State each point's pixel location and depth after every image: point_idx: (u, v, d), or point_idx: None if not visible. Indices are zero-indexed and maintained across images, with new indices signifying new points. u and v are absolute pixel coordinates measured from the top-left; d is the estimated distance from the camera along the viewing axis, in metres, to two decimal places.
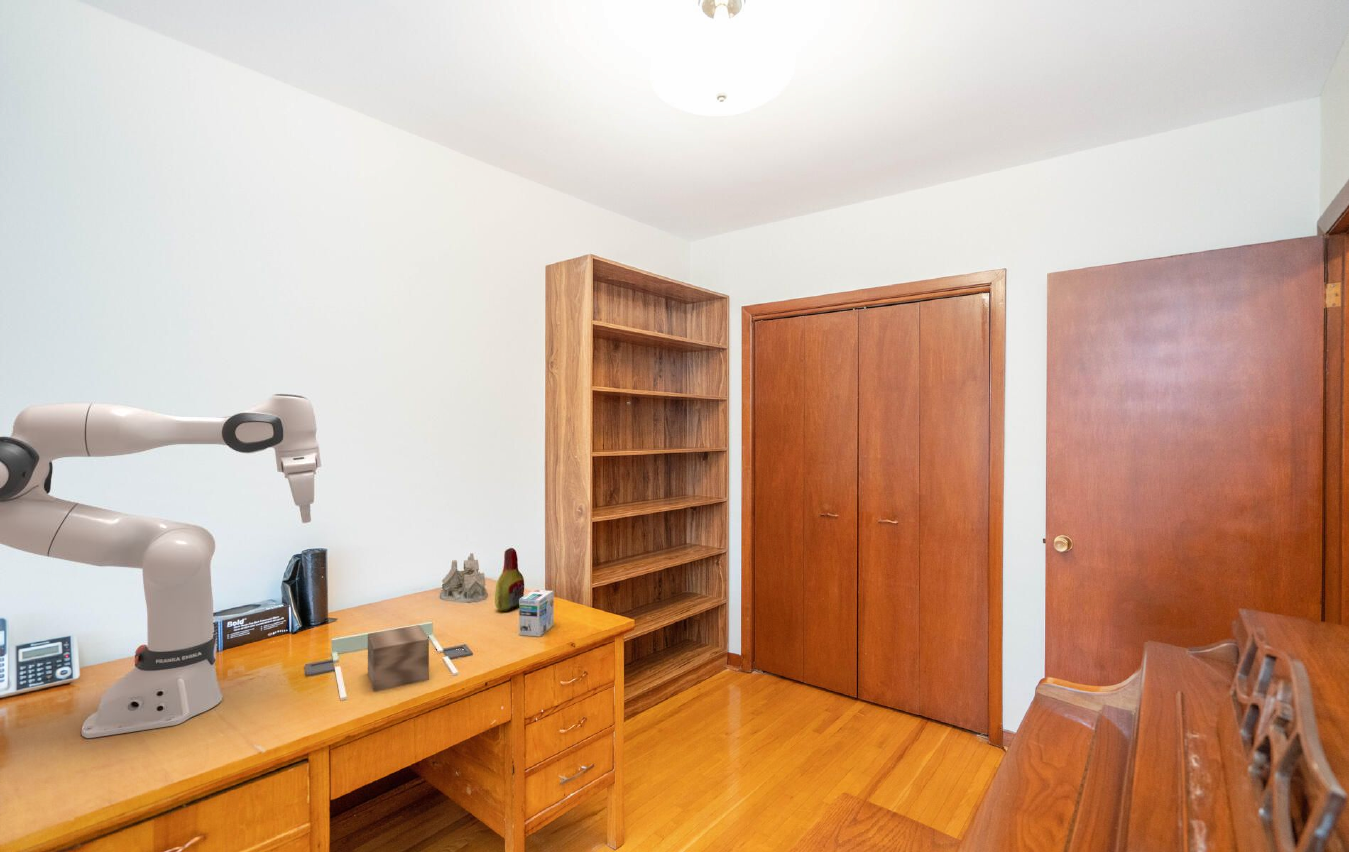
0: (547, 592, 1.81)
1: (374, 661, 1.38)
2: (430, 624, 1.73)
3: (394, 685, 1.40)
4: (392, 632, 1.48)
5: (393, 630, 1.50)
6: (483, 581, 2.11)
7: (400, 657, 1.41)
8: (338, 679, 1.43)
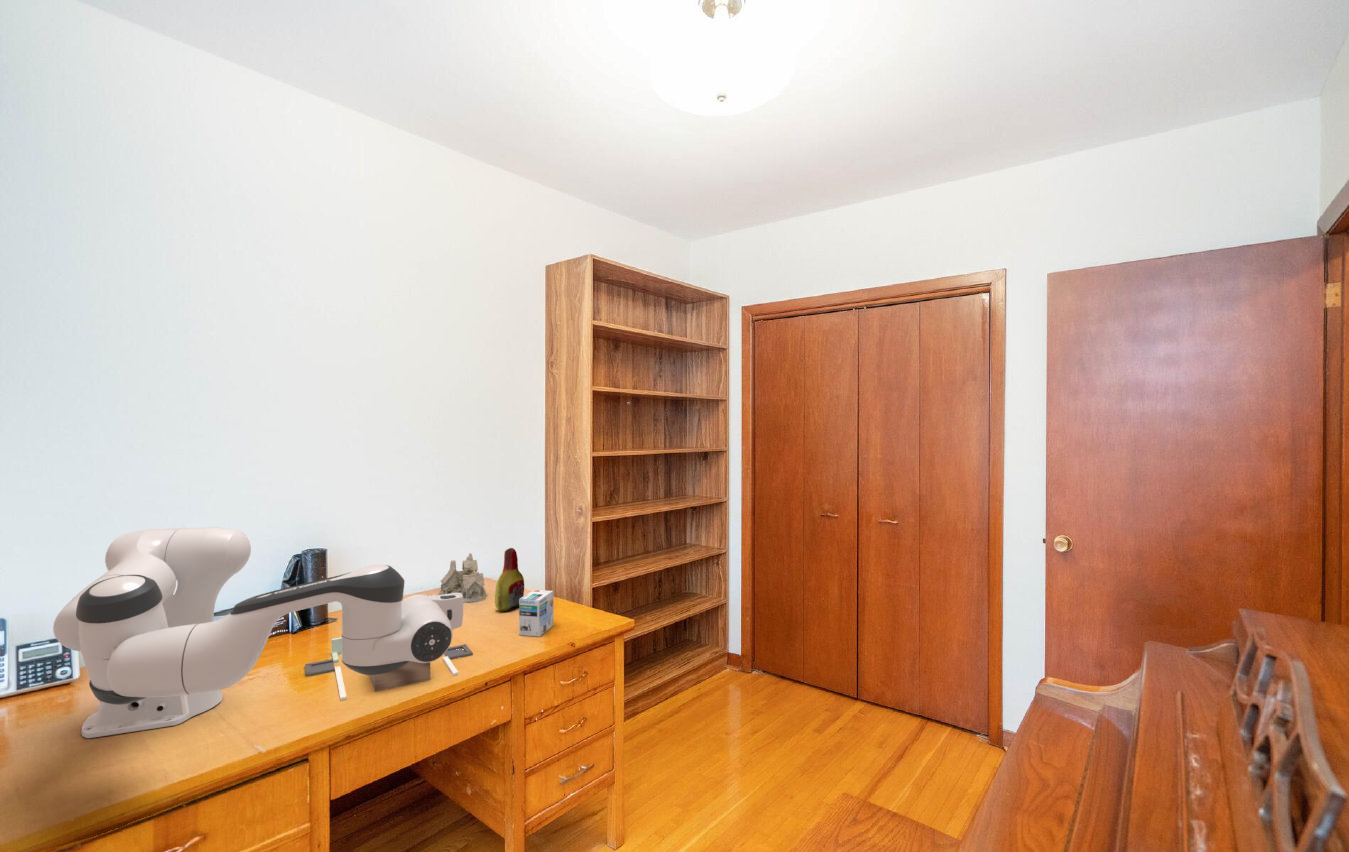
0: (547, 592, 1.81)
1: None
2: None
3: (395, 685, 1.40)
4: None
5: None
6: (482, 581, 2.11)
7: None
8: (338, 679, 1.43)
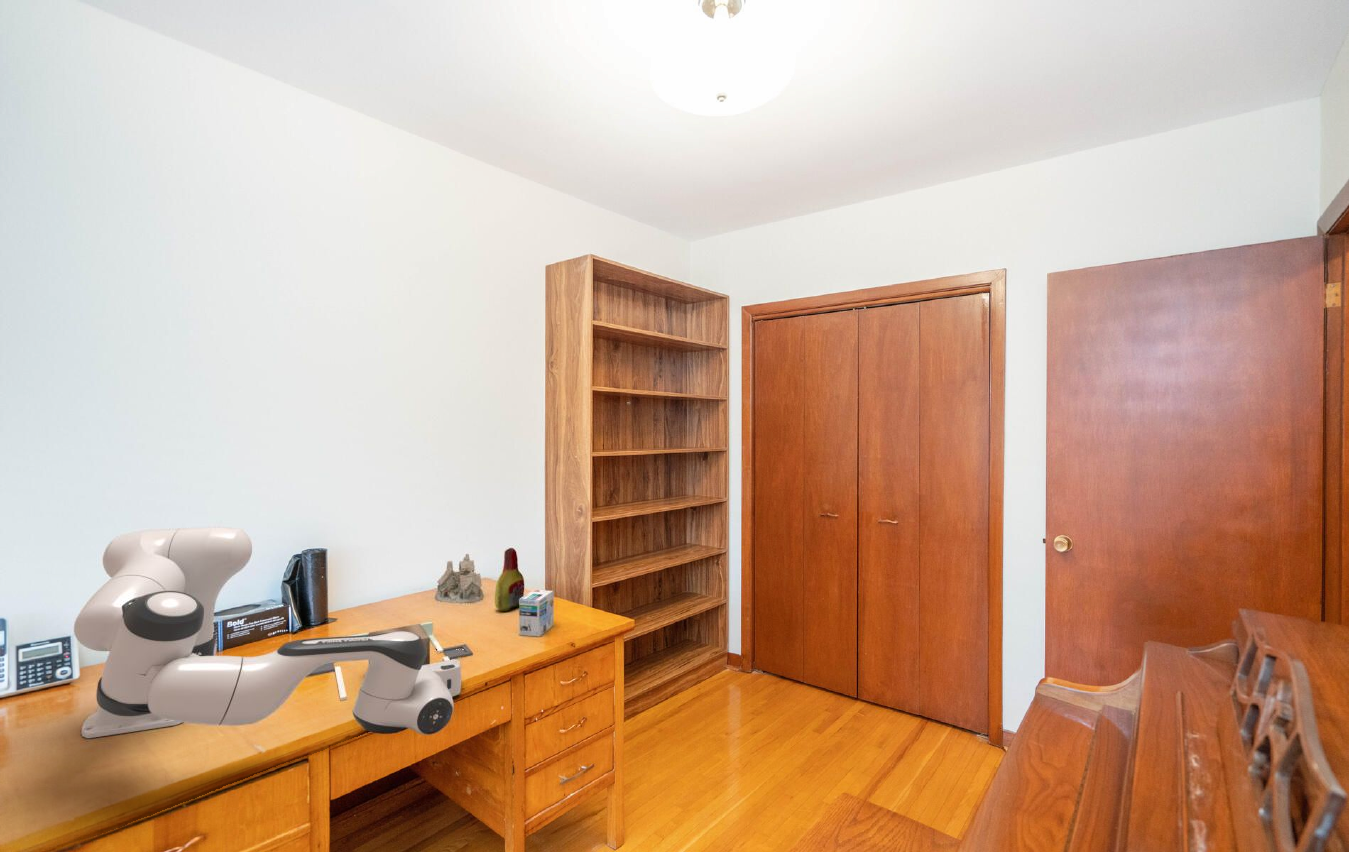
0: (547, 592, 1.81)
1: None
2: (430, 624, 1.73)
3: None
4: (393, 631, 1.49)
5: (393, 629, 1.50)
6: (479, 582, 2.10)
7: None
8: (338, 679, 1.43)
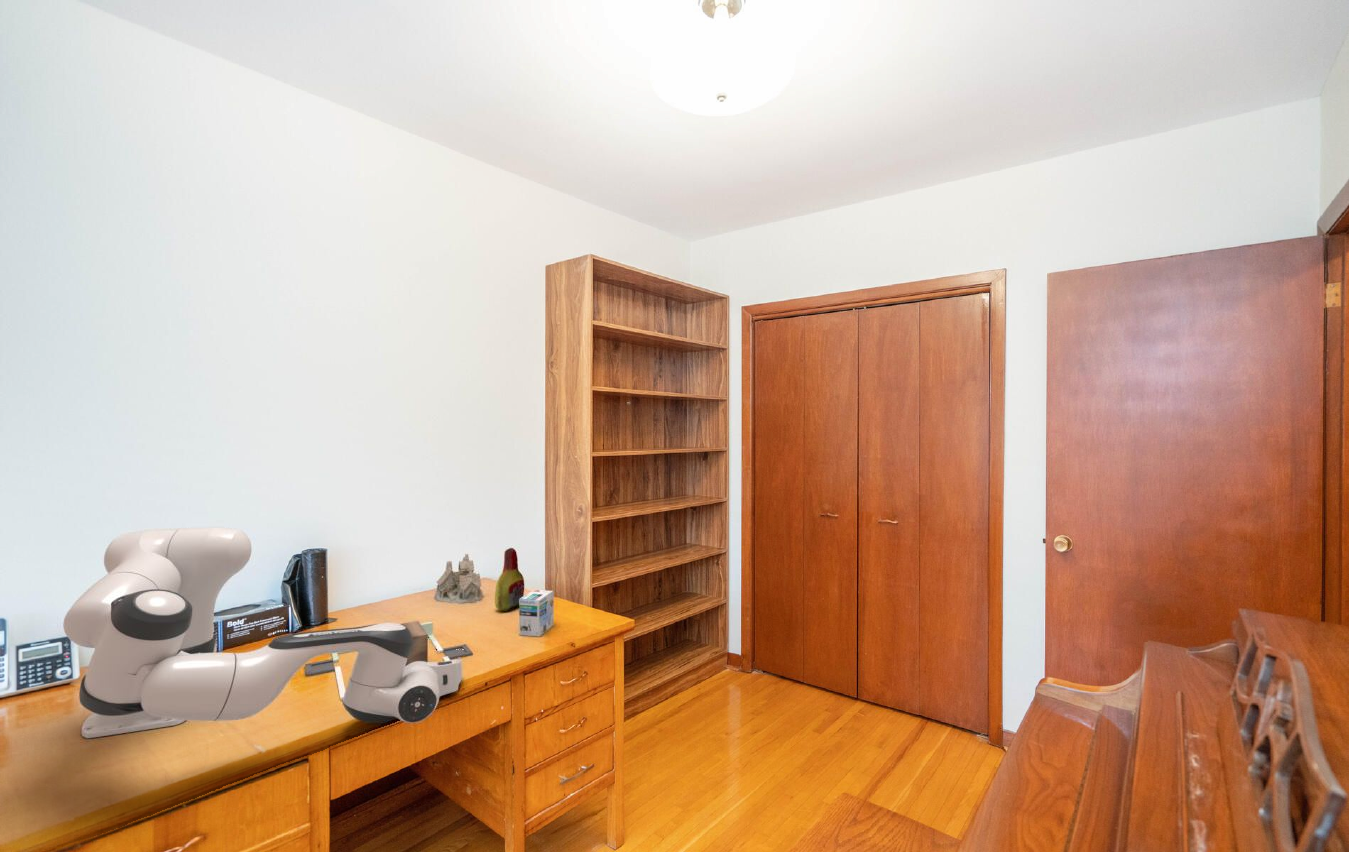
0: (547, 592, 1.81)
1: None
2: (430, 624, 1.73)
3: None
4: None
5: None
6: (479, 582, 2.10)
7: None
8: (338, 679, 1.43)
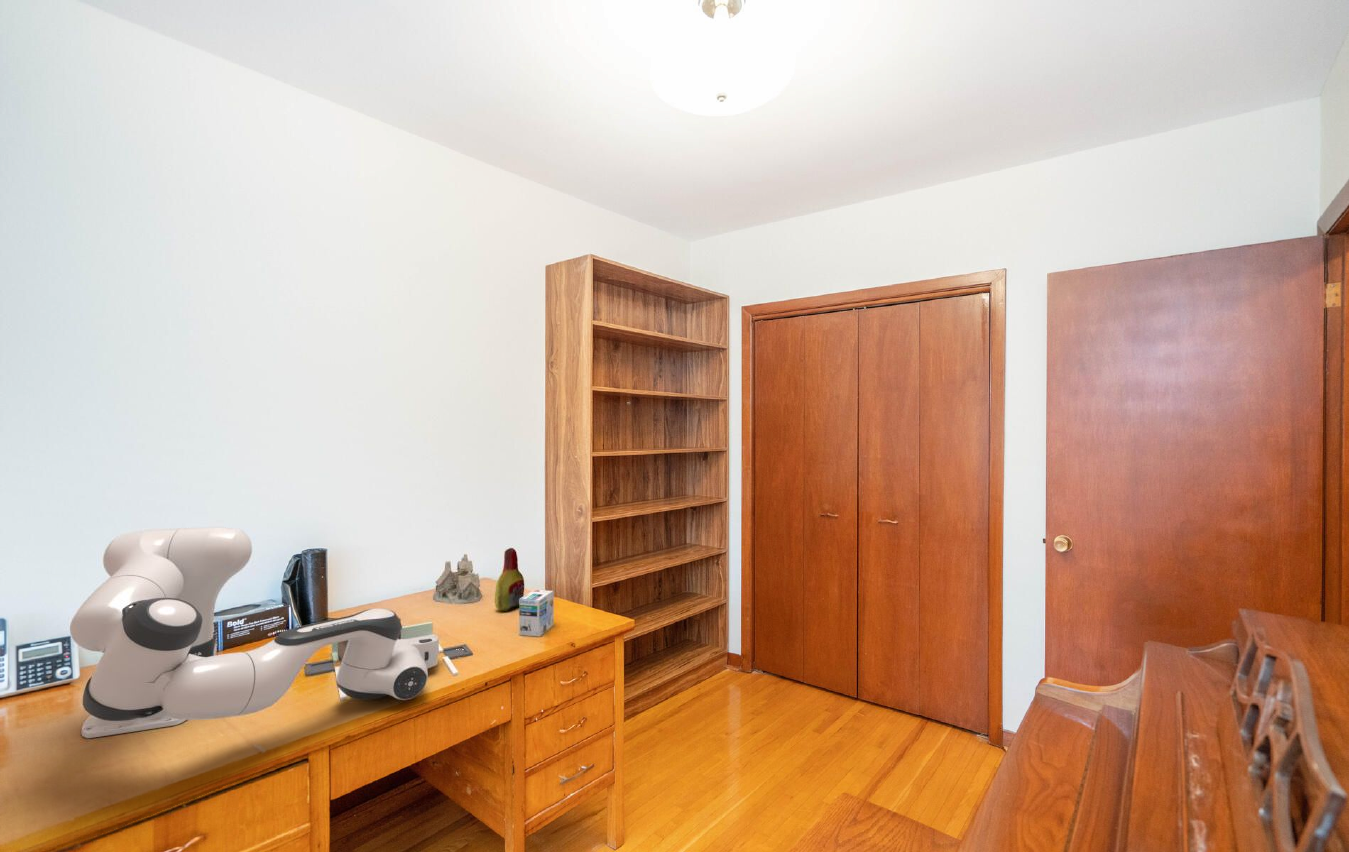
0: (547, 592, 1.81)
1: None
2: (430, 624, 1.73)
3: None
4: None
5: None
6: (478, 582, 2.10)
7: None
8: None
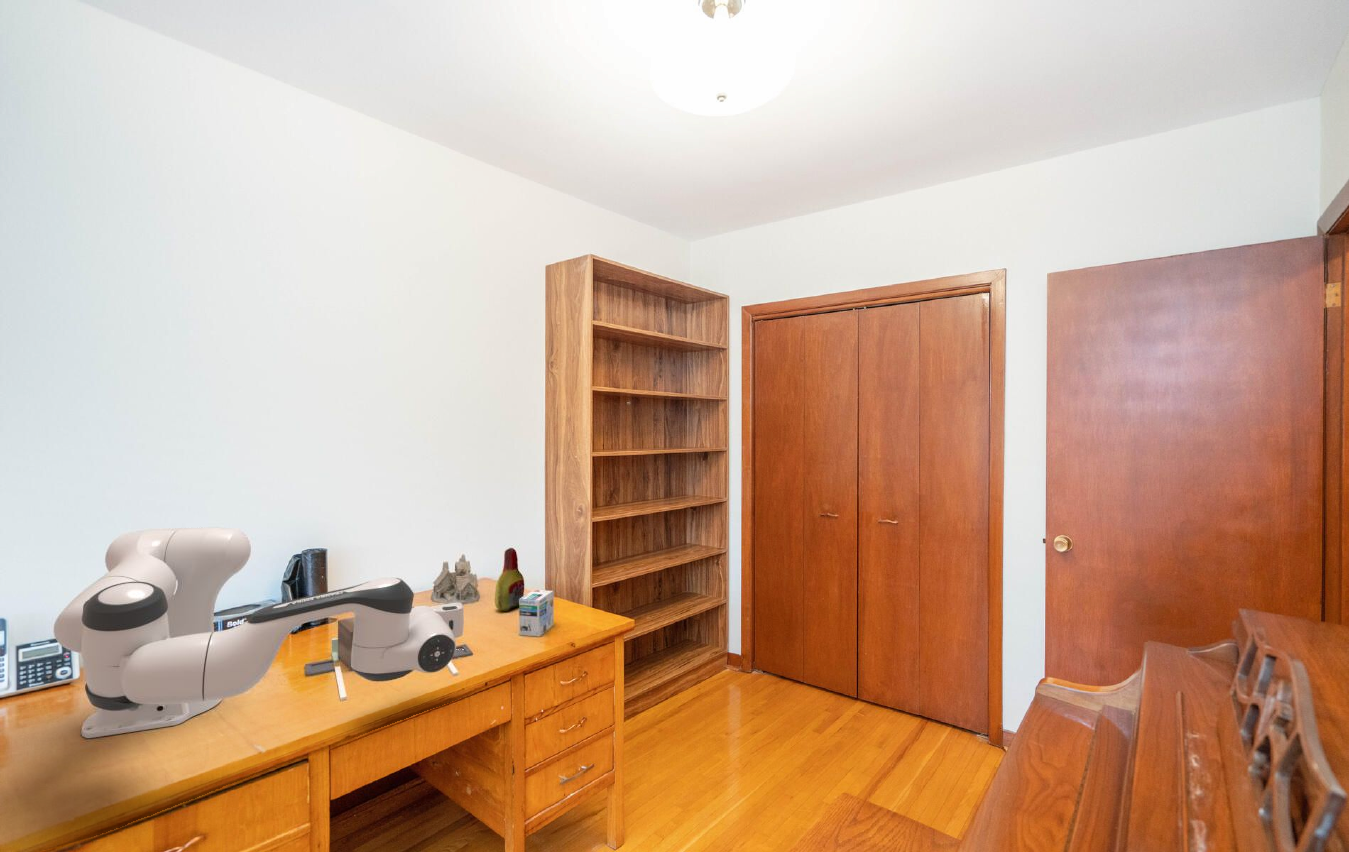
0: (547, 592, 1.81)
1: (351, 643, 1.49)
2: None
3: None
4: None
5: None
6: (476, 582, 2.10)
7: None
8: (338, 679, 1.43)
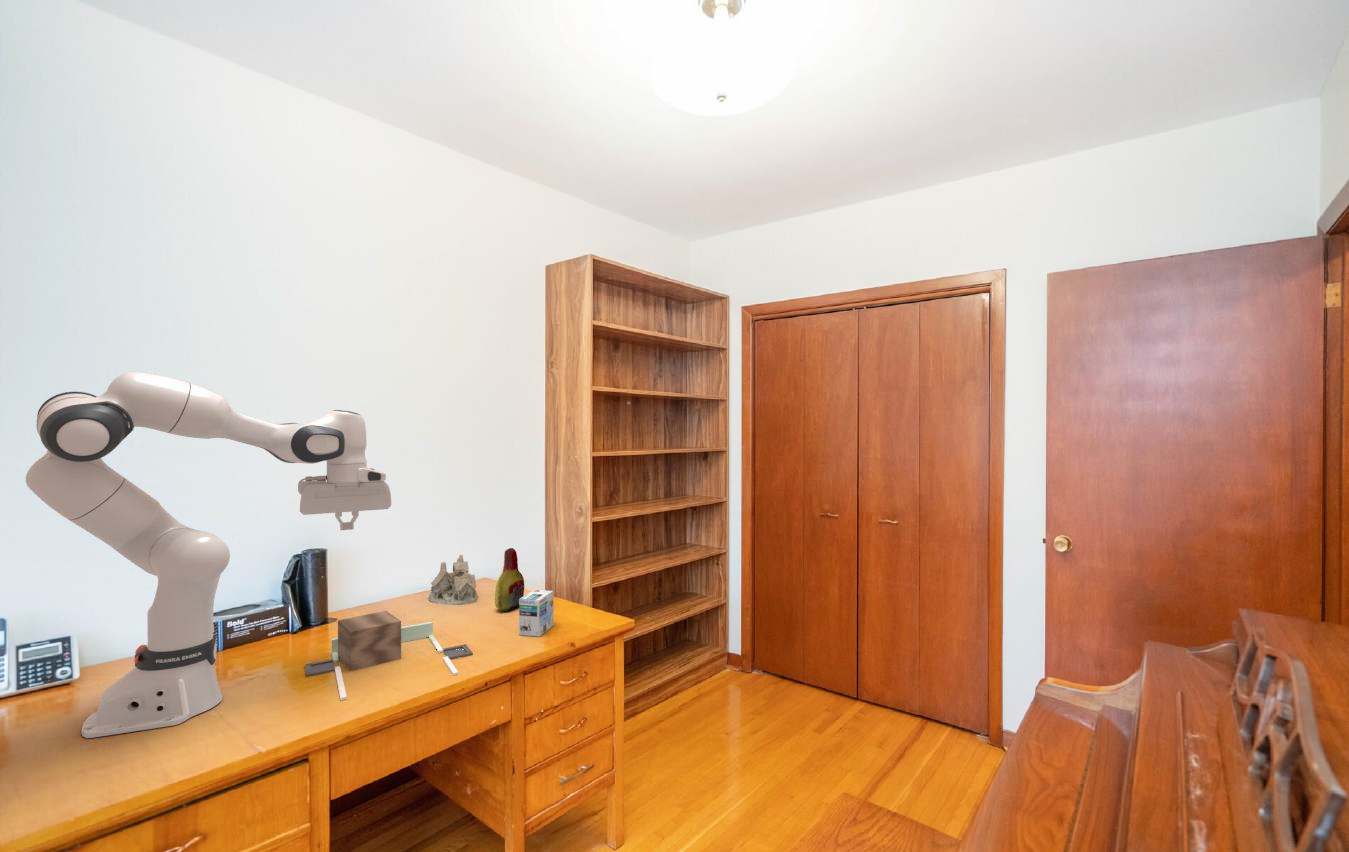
0: (547, 592, 1.81)
1: (351, 643, 1.49)
2: (430, 624, 1.73)
3: (370, 664, 1.52)
4: (362, 618, 1.59)
5: (362, 616, 1.60)
6: (474, 583, 2.09)
7: (375, 638, 1.53)
8: (338, 679, 1.43)
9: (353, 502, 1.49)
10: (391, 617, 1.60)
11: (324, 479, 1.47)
